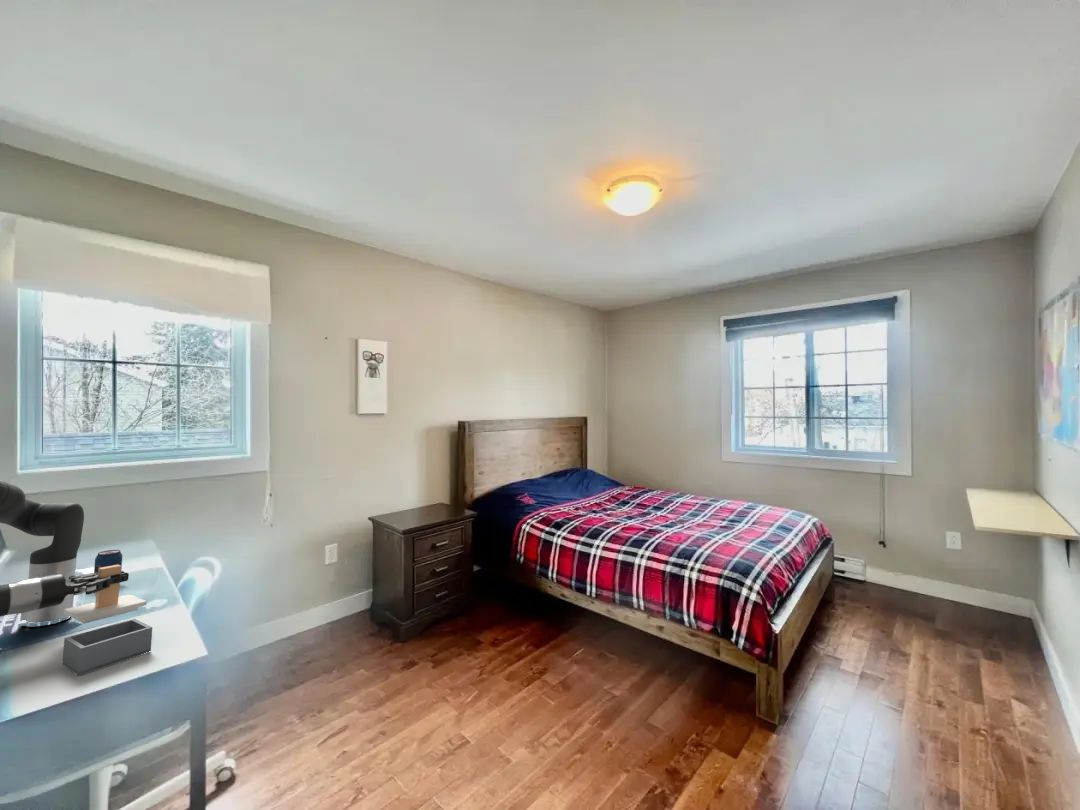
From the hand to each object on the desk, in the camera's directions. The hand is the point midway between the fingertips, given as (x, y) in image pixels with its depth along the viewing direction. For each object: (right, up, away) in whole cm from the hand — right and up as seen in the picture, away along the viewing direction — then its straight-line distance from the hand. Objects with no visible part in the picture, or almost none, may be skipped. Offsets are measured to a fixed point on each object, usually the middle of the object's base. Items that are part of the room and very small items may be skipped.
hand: (125, 575), depth 125 cm
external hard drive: (-57, -17, +45) cm, 75 cm away
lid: (-2, -9, -4) cm, 10 cm away
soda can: (-36, -16, +32) cm, 51 cm away
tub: (+10, -14, -16) cm, 23 cm away
